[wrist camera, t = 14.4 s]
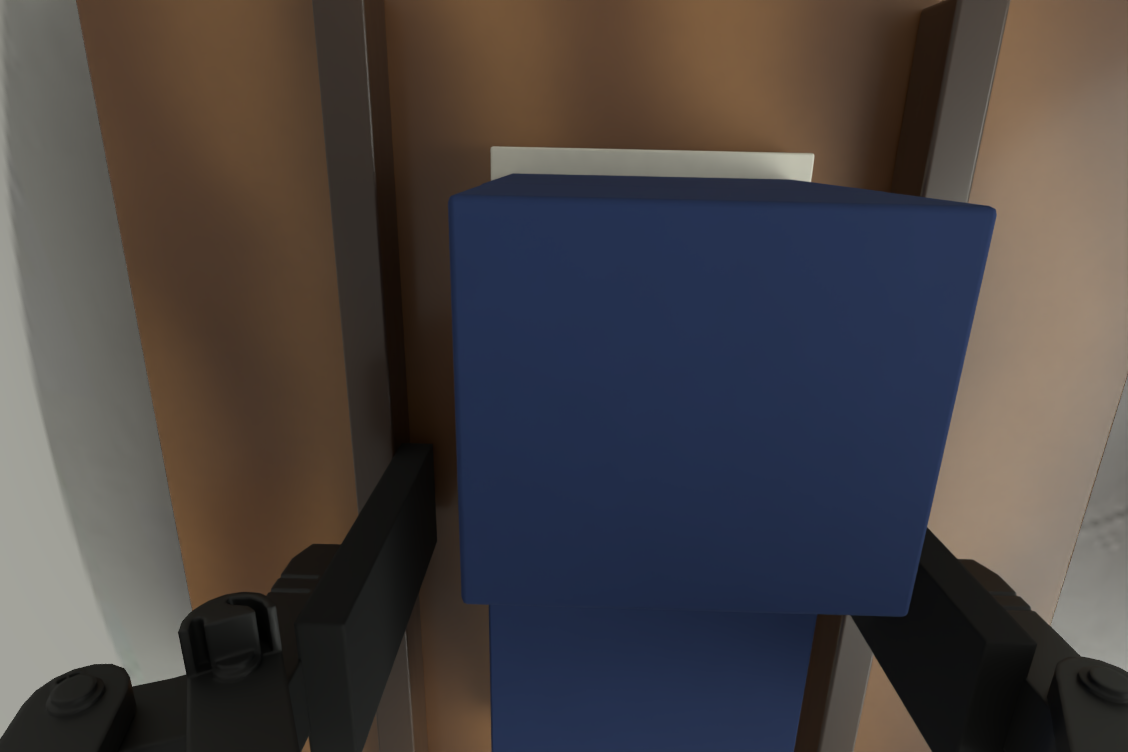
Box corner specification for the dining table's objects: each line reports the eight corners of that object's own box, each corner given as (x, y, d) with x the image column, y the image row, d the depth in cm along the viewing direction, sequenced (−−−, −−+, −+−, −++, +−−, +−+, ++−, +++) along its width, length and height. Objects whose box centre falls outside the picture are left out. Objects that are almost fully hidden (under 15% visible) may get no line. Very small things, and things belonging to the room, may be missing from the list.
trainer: (499, 146, 15) (404, 140, 7) (790, 153, 15) (1055, 155, 6) (505, 716, 20) (455, 1105, 12) (720, 722, 20) (820, 1118, 12)
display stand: (302, 670, 27) (204, 856, 20) (215, 0, 19) (1, -89, 12) (899, 688, 27) (1017, 883, 19) (1053, 16, 19) (1339, -65, 12)
